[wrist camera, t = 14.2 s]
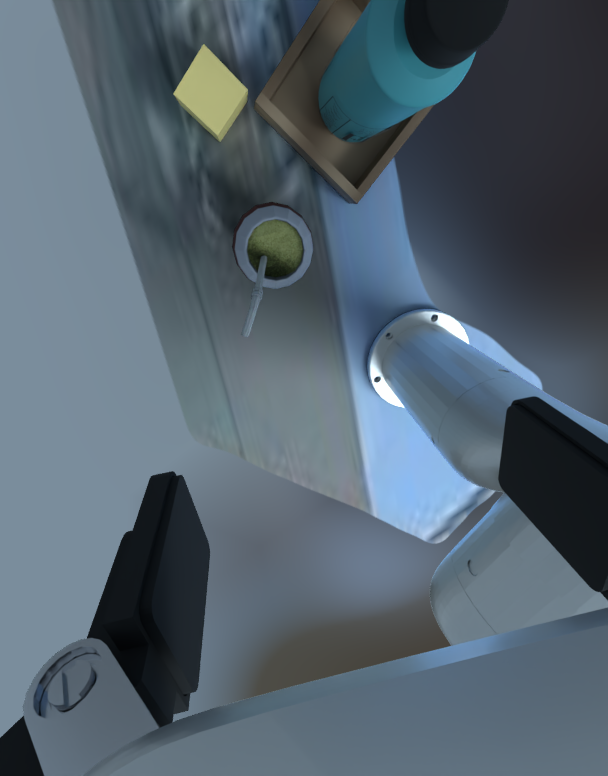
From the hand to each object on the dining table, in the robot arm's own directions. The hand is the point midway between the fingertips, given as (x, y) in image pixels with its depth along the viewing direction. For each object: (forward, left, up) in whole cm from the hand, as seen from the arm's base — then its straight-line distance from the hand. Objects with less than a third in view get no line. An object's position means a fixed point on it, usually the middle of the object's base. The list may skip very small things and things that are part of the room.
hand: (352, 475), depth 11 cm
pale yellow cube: (+13, -8, -32) cm, 36 cm away
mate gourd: (+2, -2, -32) cm, 33 cm away
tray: (+4, -16, -32) cm, 36 cm away
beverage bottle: (+4, -16, -32) cm, 36 cm away
